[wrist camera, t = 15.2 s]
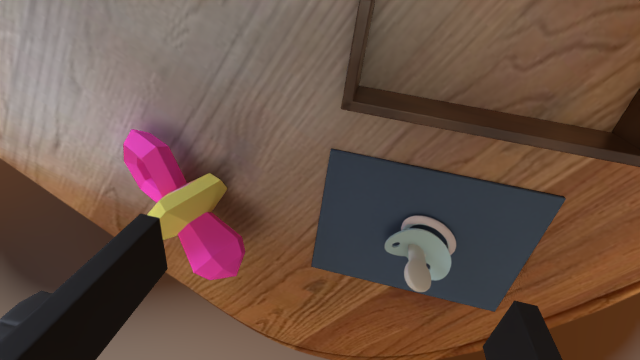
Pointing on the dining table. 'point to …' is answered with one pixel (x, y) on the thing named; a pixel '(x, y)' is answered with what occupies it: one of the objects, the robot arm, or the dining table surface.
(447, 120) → the open box
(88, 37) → the dining table surface
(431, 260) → the pacifier
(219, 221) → the toy
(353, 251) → the mat
